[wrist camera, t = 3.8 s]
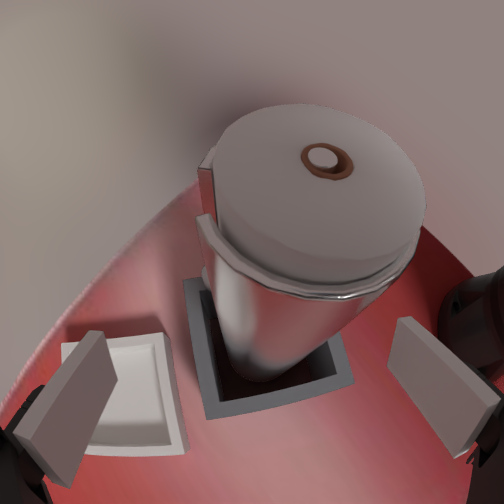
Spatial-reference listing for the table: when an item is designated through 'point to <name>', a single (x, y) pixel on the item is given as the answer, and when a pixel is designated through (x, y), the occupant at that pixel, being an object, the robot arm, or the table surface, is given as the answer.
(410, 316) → the robot arm
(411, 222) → the shiny metal cylinder
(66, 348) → the tray
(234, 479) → the table surface
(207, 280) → the housing
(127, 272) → the table surface
